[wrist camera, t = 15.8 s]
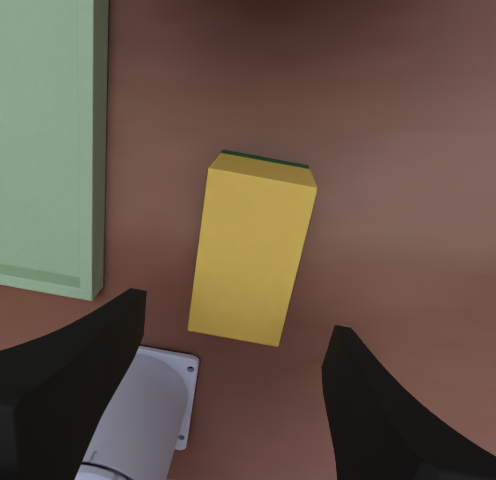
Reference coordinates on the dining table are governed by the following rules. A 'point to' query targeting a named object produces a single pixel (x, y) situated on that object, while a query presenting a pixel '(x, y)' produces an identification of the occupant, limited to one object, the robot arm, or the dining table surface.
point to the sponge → (250, 246)
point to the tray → (53, 145)
